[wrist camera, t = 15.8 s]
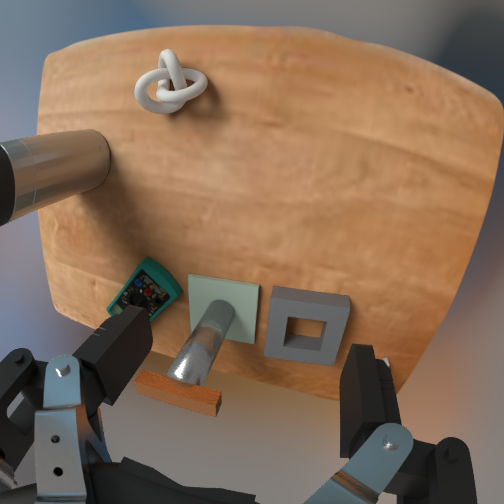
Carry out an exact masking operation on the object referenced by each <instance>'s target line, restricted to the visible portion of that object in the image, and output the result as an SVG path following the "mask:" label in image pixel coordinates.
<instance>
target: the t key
mask: <svg viewBox="0 0 504 504" xmlns="http://www.w3.org/2000/svg"><path fill="white" fill-rule="evenodd" d="M234 317H235V310H234V308H233V306H232V305H231V304H230V303H228V302H227V301H224V300H214V301H212V302H211V303H210V304H209V306H208V308H207V309H206V311H205V312H204V314H203V316H202V317H201V319H200V320H199V322H198V324H197V325H196V327H195V328H194V330H193V332H192V333H191V335H190V336H189V338H188V340H187V341H186V343H185V344H184V346H183V348H182V349H181V351H180V353H179V354H178V356H177V357H176V359H175V361H174V362H173V364H172V365H171V367H170V369H169V370H168V372H167V373H166V375H165V376H162V375H159V374H155V373H152V372H149V371H146V370H143V369H142V370H141V372H140V373H139V375H138V376H137V377H136V379H135V380H134V384H135V386H136V390H137V392H138V393H139V394H142V395H144V396H147V397H150V398H153V399H156V400H159V401H162V402H165V403H168V404H171V405H175V406H178V407H181V408H185V409H188V410H191V411H195V412H199V413H203V414H207V415H210V416H214V417H216V416H217V414H218V411H219V408H220V406H221V403H222V396H221V391H218V390H213V389H209V388H205V387H202V385H203V383H204V381H205V379H206V377H207V375H208V373H209V370H210V368H211V366H212V364H213V362H214V360H215V358H216V356H217V353H218V351H219V349H220V347H221V345H222V343H223V341H224V339H225V336H226V334H227V332H228V330H229V328H230V326H231V324H232V321H233V319H234Z"/></svg>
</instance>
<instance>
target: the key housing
mask: <svg viewBox="0 0 504 504" xmlns="http://www.w3.org/2000/svg"><path fill="white" fill-rule="evenodd" d="M350 308H351V307H350V302H349V296H346V295H338V294H330V293H322V292H315V291H307V290H300V289H293V288H285V287H278V286H273V290H272V294H271V298H270V307H269V316H268V324H267V333H266V342H265V350H264V357H270V358H277V359H284V360H291V361H298V362H305V363H314V364H322V365H332V366H333V365H334V362H335V359H336V356H337V353H338V349H339V346H340V343H341V340H342V336H343V333H344V330H345V326H346V323H347V319H348V316H349V312H350ZM288 317H295V318H302V319H310V320H318V321H324V324H323V328H322V333H321V337H320V338H316V337H308V336H300V335H293V334H286V333H285V332H286V326H287V320H288Z"/></svg>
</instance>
